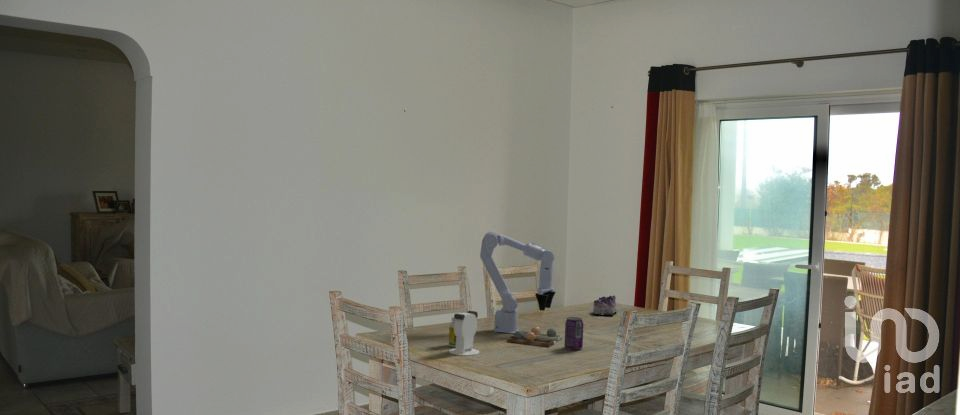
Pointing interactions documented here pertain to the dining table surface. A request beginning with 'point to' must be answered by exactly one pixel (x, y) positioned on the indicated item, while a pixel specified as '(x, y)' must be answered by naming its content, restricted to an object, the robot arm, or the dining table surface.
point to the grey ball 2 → (551, 333)
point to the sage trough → (545, 337)
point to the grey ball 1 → (518, 335)
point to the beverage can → (574, 333)
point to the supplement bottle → (452, 334)
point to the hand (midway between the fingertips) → (544, 309)
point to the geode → (605, 305)
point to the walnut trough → (536, 342)
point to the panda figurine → (465, 333)
